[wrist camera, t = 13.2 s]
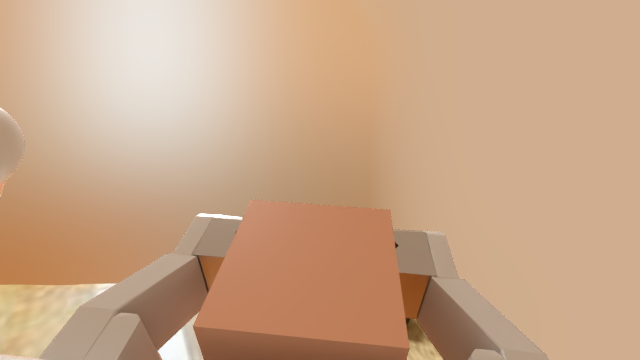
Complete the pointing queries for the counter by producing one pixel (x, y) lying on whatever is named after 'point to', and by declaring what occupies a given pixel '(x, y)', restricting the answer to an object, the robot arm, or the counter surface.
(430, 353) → the counter surface
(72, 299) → the counter surface
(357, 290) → the block
